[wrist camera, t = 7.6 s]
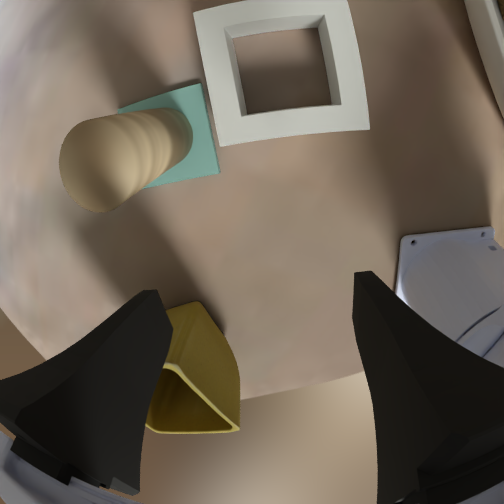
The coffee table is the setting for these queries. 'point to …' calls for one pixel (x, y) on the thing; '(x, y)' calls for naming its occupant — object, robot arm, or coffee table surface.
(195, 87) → the pad
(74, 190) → the dowel
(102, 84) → the coffee table surface
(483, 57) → the bowl
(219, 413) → the flower pot
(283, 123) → the socket block
